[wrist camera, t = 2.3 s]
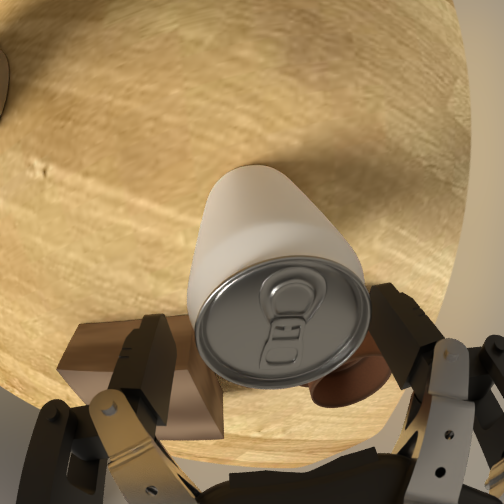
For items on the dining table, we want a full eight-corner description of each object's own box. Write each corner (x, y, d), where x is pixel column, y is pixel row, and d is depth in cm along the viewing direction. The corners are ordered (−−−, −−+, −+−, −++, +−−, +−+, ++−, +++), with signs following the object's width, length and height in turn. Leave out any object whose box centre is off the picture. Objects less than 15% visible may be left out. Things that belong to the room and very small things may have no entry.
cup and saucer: (396, 338, 27) (420, 377, 21) (303, 387, 29) (314, 431, 23) (370, 260, 22) (407, 304, 16) (248, 328, 24) (254, 384, 18)
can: (305, 166, 18) (409, 244, 7) (293, 253, 21) (351, 387, 10) (206, 161, 17) (169, 237, 6) (205, 251, 20) (189, 396, 9)
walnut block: (79, 324, 22) (56, 369, 17) (194, 313, 22) (187, 369, 17) (127, 396, 28) (118, 436, 22) (222, 393, 28) (224, 438, 23)
